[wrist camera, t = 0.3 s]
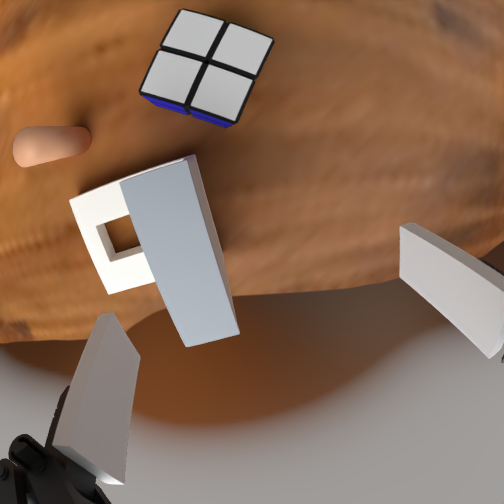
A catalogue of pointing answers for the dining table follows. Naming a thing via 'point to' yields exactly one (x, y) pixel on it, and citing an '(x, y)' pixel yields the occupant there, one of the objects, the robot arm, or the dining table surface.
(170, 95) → the puzzle cube
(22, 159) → the peg
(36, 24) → the dining table surface
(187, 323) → the socket board
